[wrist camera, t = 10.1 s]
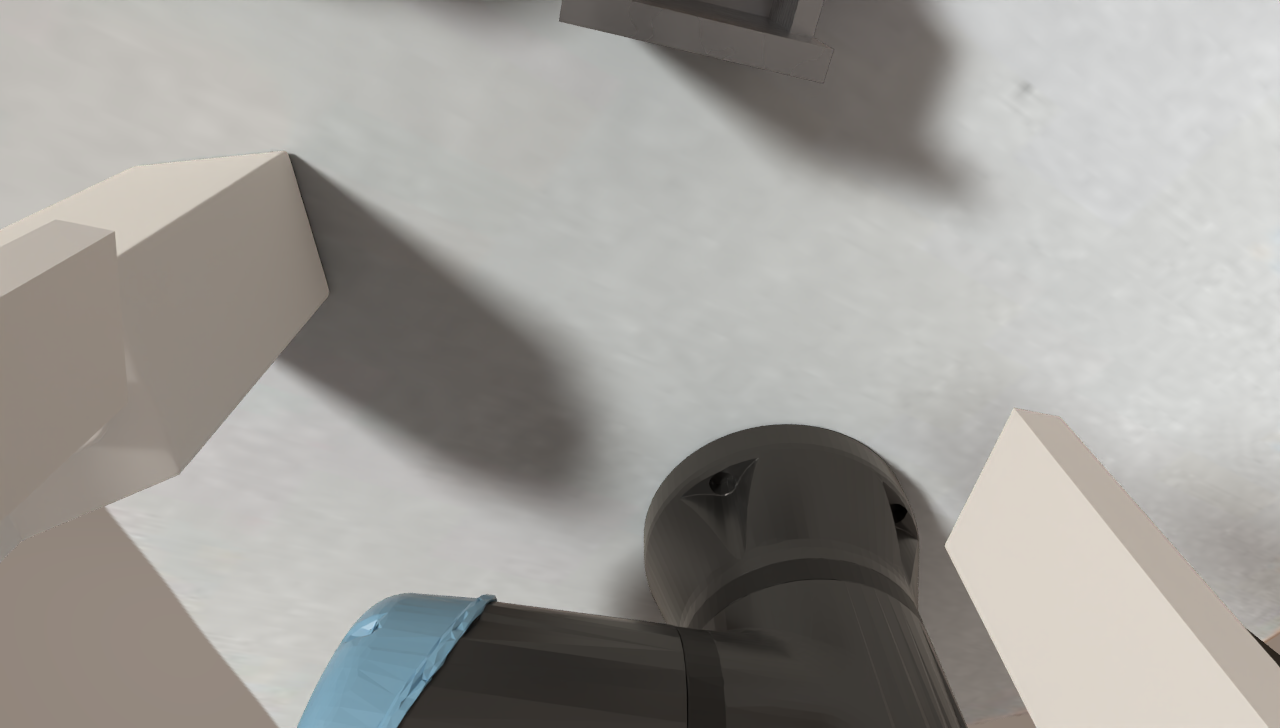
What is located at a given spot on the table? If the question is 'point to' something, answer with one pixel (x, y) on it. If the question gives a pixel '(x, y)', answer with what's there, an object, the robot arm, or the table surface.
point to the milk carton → (182, 316)
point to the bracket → (717, 29)
